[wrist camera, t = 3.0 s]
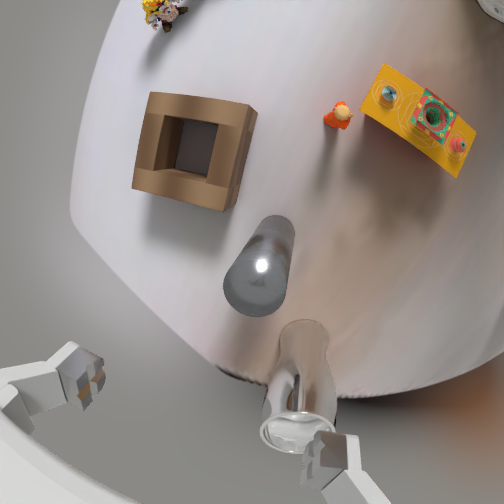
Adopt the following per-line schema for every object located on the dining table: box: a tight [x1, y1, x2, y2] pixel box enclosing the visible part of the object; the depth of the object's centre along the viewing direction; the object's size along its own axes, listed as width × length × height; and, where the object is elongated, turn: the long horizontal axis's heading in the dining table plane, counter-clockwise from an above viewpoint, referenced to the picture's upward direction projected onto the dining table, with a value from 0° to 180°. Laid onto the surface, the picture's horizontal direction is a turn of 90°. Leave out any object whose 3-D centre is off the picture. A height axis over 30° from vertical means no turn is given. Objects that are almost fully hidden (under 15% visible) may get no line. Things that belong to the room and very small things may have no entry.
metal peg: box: [223, 215, 295, 317], centre depth 25 cm, size 4×4×14 cm
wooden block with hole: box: [132, 92, 258, 212], centre depth 28 cm, size 10×10×5 cm
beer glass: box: [260, 320, 337, 454], centre depth 28 cm, size 7×7×15 cm
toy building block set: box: [324, 63, 477, 178], centre depth 19 cm, size 12×35×14 cm, turn 63°
